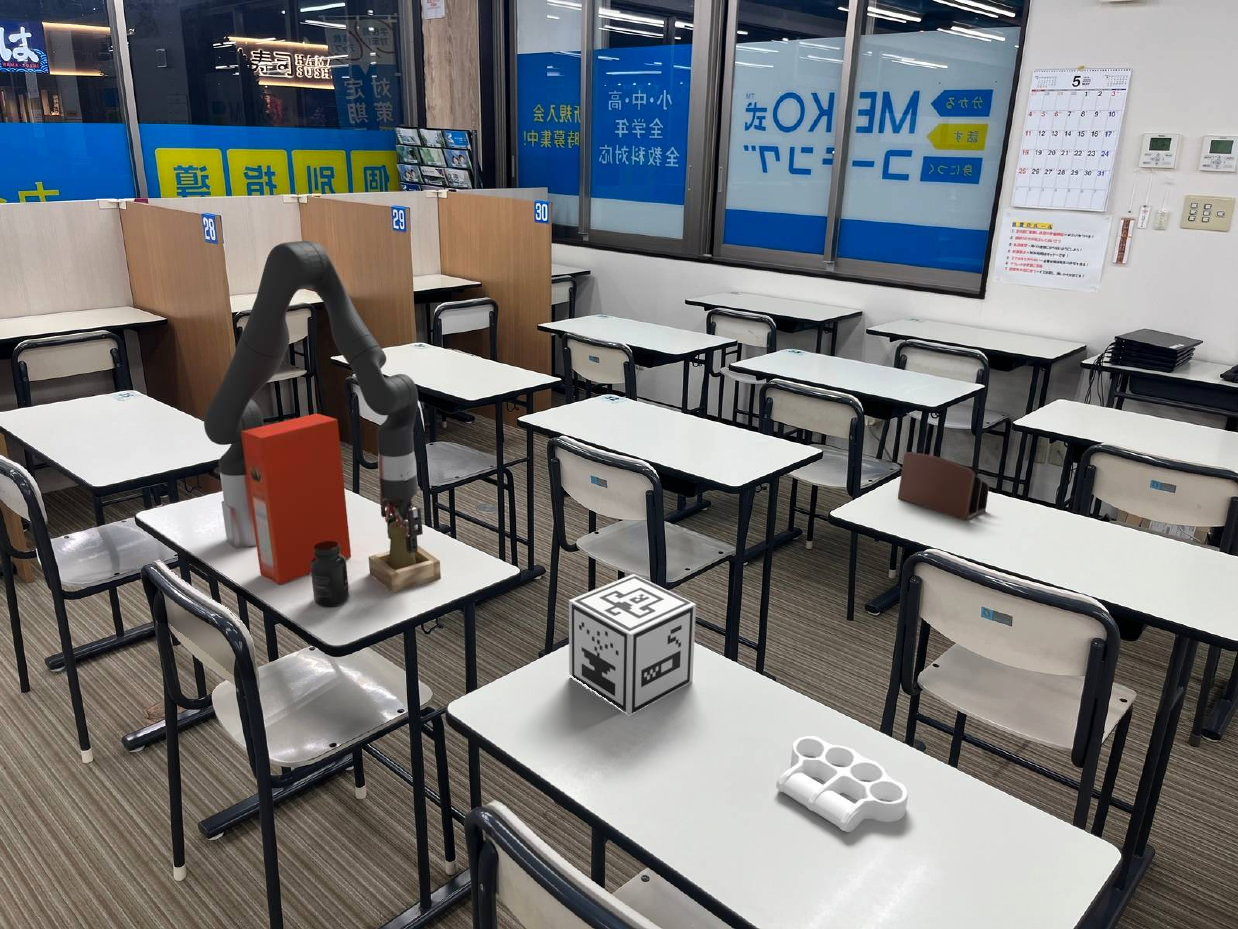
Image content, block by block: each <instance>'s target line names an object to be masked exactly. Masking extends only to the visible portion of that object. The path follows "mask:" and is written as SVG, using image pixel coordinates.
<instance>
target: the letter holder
mask: <svg viewBox="0 0 1238 929" xmlns="http://www.w3.org/2000/svg"><path fill="white" fill-rule="evenodd" d="M901 467H902V468H901V474H900V481H899V487H898V491H897V492H898V493H897V499H898V500H901V501H904V502H909V503H912V504H915V505H918V506H920V507H923V508H927V509H929V510H932V511H936V512H938V513H942V514H945V515H948V516H951V517H954V518H956V519H960V520H963V521H968V520H970V519H972V518H974V517H976V516H977V517H978V516H979V515H981V514H982V513H985V512H986V509H987V504H988V496H989V491H990V486H989V483H988V482H986V481H984V480H982V478H981V477H980V476H978V475H976V474H975V471H974V470H973V469H971V468H970V467H966V466H964V465H962V464H960V463H957V462H954V461H952V460H949V459H946V458H942V457H939V456H935V455H931V454H926V453H919V452H911V451H909V452H908V451H906V452H905V453H904V455H903V460H902V466H901Z"/></svg>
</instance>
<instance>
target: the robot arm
mask: <svg viewBox="0 0 1238 929" xmlns="http://www.w3.org/2000/svg"><path fill="white" fill-rule="evenodd" d="M306 289H312V290H313V291H314V292H315V294H317V296H319V298H320V299H321V301H322V302H323V303H324V306H325V308H326V311H327V314H328V319H329V323H330V324H329V325H330V330H331V335H332V339H333V341H334V343H335V345H336V347H337V350H338V351H339V352H340V354H341V355H342V357H343V358H344V359H345V361H346V363H347V364H348V365H349V367H350V368H351V369H352V371H353V373H354V375H355V378H356V381H357V384H358V386H359V389H360V391H361V394H362V398H363V400H364V401H365V403H366V405H367V406H368V407H369V409H371V410H372V411H373V413H375V414H377V415H379V416H386V419H385V421H384V422H382V423H381V424H380V425H379V426H378V428H377V431H376V437H377V438H376V439H377V452H378V458H377V467H378V468H377V469H378V478H379V479H378V480H379V497H380V498H379V499H380V500H379V501H380V515H381V517H382V518H384V520H385V523H386V526H387V528H388V526H389V524H390V523H392V522H393V521H397V520H398V522H399V525H400V527H402V528H403V529H404V532H405V535H406V536H405V537H406V551H407V552H408V553H413V552H416V551H417V550H418V546H419V545H418V536H421V535H423V522H422V512H421V511H422V510H421V507H420V506H417V507H414V504H413V501H412V499H413V498H414V496H416V495H417V494H418V492H419V490H418V488H419V487H418V476H417V475H418V474H417V460H416V455H415V447H414V435H413V430H414V426H415V422H416V416H417V410H418V402H419V392H418V389H417V384H416V383H415V382H414V380H413V379H412V377H410V376H409V375H407V374H403V373H398V374H394V375H391V376H387V377H385V376H384V375H383V373H382V369H383V367H384V366H385V364H386V362H387V356H386V353H385V352H384V350H383V349H382V347H381V346H380V344H379V343H378V341H377V340H376V339H375V337H374V336H373V335H372V333H371V331H369V328H368V327H367V326H366V323H365V322H364V321H363V320H362V318H361V316H360V315H359V313H358V311H357V309H356V307H355V305H354V304H353V301H352V299H351V297H350V295H349V293H348V291H347V289H346V287H345V284H344V283H343V281H342V279H341V278H340V275H339V273H338V271H337V269H336V267H335V265H334V263H333V261H332V259H331V258H330V255H329V253H327V251H326V250H325V248H324V247H323V246H322V245H321V244H319V243H318V242H315V241H311V240H301V241H291V242H290V241H289V242H283V243H280V244H277V245H275V246H273V248H271V250H270V252H269V253H268V254H267V258H266V261H265V264H264V267H263V272H262V274H261V279H260V283H259V286H258V290H257V294H256V297H255V299H254V303H253V305H252V308H251V311H250V313H249V316H248V318H247V322H246V324H245V326H244V328H243V331H242V332H241V335H240V338H239V339H238V343H237V344H236V348H235V352H234V353H233V357H232V359H231V361H230V363H229V366H228V368H227V370H226V372H225V374H224V377H223V380H222V382H221V383H220V385H219V387H218V389H217V391H216V393H215V395H214V396H213V398H212V400H211V402H210V403H209V405H208V407H207V409H206V412H205V414H204V417H203V426H204V432H205V434H206V436H207V438H208V439H209V441H211V442H212V443H214V444H216V445H220V446H225V445H226V446H227V445H229V448H228V449H227V450H226V451H225V452H224V453H223V454H222V455H221V457H220V458H219V460H218V470H219V475H220V482H221V489H222V490H221V491H222V496H223V500H222V501H221V508H222V516H223V523H224V528H225V529H224V530H225V538H226V541H227V542H229V543H230V545H231V546H232V547H233V548H235V549H236V548H239V547H240V548H241V547H254V546H257V545H256V538H255V531H254V523H253V516H252V509H251V501H250V494H249V487H248V479H247V472H246V465H245V457H244V450H243V443H242V435H241V431H245V430H249V429H253V428H258V427H262V426H265V425H264V418H263V414H262V411H261V410H260V407H259V405H258V404H257V403H256V402H255V400H253V398H254V396H255V395H257V393H258V392H259V391H260V390H261V389H262V388H263V387H264V386H265V385H266V384H267V383H268V382H269V381H270V380H271V379H272V378H273V377H274V375H275V374H276V373H277V372H278V370H279V368H280V367H281V365H282V362H283V360H284V358H285V356H286V354H287V351H288V349H289V344H290V330H289V327H288V324H287V319H286V316H287V311H288V308H289V306H290V304H291V301H292V299H293V298H294V296H295V294H296V293H297V292H298V291H301V290H306ZM404 521H406V522H404ZM407 526H408V527H409V530H408V527H407ZM387 538H388V539H389V540H391V538H390V537H389V536H388V535H387Z"/></svg>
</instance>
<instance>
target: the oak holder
mask: <svg viewBox="0 0 1238 929" xmlns="http://www.w3.org/2000/svg"><path fill="white" fill-rule="evenodd" d="M389 555H390V550H387V551H384V552H380V553H377V554H373V555H370V556H368V557H367V558H368V568H369V574H370V575H371V576H372V577H373V578H374V579H376V580H377V581H378V582H379V583H380V584H381V585H383V586H384V587H385V588H386V589H387V590H389V591H390V592H391V593H396V592H400V591H403V590H406V589H410V588H412V587H415V586H419V585H422V584H426V583H428V582H432V581H435V580H438V578H439V579H441V578H442V574H441V561H440V560H439V559H438V558H436V557H435V556H434V555H432V554H431V553H430V552H429V551H427V550H425V549H424V548H422V547H421V546H419V545H418V550H417V551H416V552H414V555H415V560H416V565H412V566H409V567H405V568H402V569H398V570H394V569H392V568H391V567H390V566H389Z"/></svg>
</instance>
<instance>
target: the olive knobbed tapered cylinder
mask: <svg viewBox="0 0 1238 929" xmlns="http://www.w3.org/2000/svg"><path fill="white" fill-rule="evenodd" d="M406 521H407V520H405V521H404V522H406ZM407 527H408V526H407ZM408 530H409V527H408ZM386 531H387V532H386V533H387V537H388V536H389V537H390V538H391V540H390V539H389V540H390V541H389V542H390V543H389V551H390V555H389V566H390V567H391V568H392V569H394V570H398V569H402V568H405V567H409V566H412V565H416V560H415V555H414V552H413V553H408V552H407V551H406V537H405V536H406V535H405V532H404V529H403V528H402V527H400V525H399V522H398V520H396V521H393V522H392V523H390V524H389V526H388V528H387V529H386Z"/></svg>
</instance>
